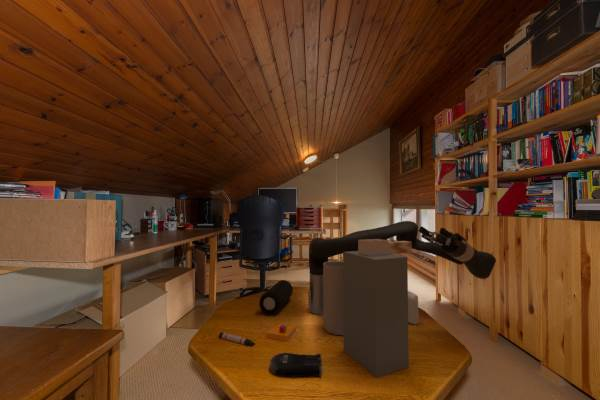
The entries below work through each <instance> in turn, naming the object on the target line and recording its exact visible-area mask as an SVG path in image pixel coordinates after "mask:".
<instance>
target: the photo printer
mask: <svg viewBox="0 0 600 400" xmlns="http://www.w3.org/2000/svg"><path fill="white" fill-rule="evenodd" d="M419 316H420V315H419V297H418V295H417V294H416V293H414V292H412V291H409V290H408V324H413V325H418V324H419V319H420V318H419Z"/></svg>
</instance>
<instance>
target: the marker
mask: <svg viewBox="0 0 600 400" xmlns="http://www.w3.org/2000/svg"><path fill="white" fill-rule="evenodd" d="M218 337H219V339H223V340H226V341H228V342H232V343H237V344H240V345H244V346H247V347H249V346H251V347H253V346H255V345H256V343H255V342H254V341H252V340H251V339H249V338H245V337H243V336H238V335H234V334H231V333H226V332H223V331H220V332H219V334H218Z"/></svg>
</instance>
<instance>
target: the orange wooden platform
mask: <svg viewBox="0 0 600 400" xmlns="http://www.w3.org/2000/svg"><path fill="white" fill-rule="evenodd" d="M295 333H296V327H295V326H291V325H290V326H289V325H285V324H278V323H277V324H275V325H274V326H272V328H270V329H269V330H268V331H267V332H266V339H271V340H275V341H276V340H277V341H282V342H289V340H290V339H291V338H292V336H293V335H295Z"/></svg>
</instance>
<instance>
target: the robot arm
mask: <svg viewBox="0 0 600 400" xmlns="http://www.w3.org/2000/svg"><path fill="white" fill-rule="evenodd" d="M418 233H420V234H421V238H423V239H424V240H426V241H423V240H421V239H418ZM435 235H436V236H435ZM394 237H395V241H409V242H412V250H416V251H420V252H423V253H427V254H431V255H435V256H437V257H440V258H442V259H445V260H446V261H450V262H452V263H455V264H456V265H461V266H462V265H464V266H465V267H466V269H467V270H468V272H469V273H470V274H471V275H473V276H474V277H475V278H477V279H480V280H485V279H488V278H489V277H490V276H491V274H492V271H493V269H494V268H495V264H496V262H497V259H496V257H495V256H494V255H493V254H491V253H489V252H486V251H480V250H478V249H476V248H474V247H473V246H472V245H471V244H470V243H468V242H467V239H466V238H465V237H463V236H462V235H461V234H460V233H458V232H455V233H454V232H452V231H449V230H447V229H446V228H445V227H440V229H439V231H438V232H436V231H430V230H428V229H427V228H426V227H424V226H419V225H418V224H417V223H416V222H414V221H411V220H403V221H399V222H395V223H392V224H388V225H385V226H380V227H375V228H370V229H369V228H368V229H363V230H357V231H354V232H351V233H348V234H346V235H343V236H340V237H335V238H322V237H315V238H313V239H312V240H311V241H310V242H309V246H308V266H309V268H308V269H309V290H308V292H307V293H308V295H307V296H308V297H307V298H308V300H307V302H308V303H307V304H308V306H307V307H308V308H307V310H308V311H307V312H308V313H311V314H314V315H318V316H319V315H320V316H321V315H322V316H323V263H325V262H329V258H331V257H335V256H338V255H341V254H343V252H350V251H358V240H364V239H382V240H389V239H391V238H394Z"/></svg>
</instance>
